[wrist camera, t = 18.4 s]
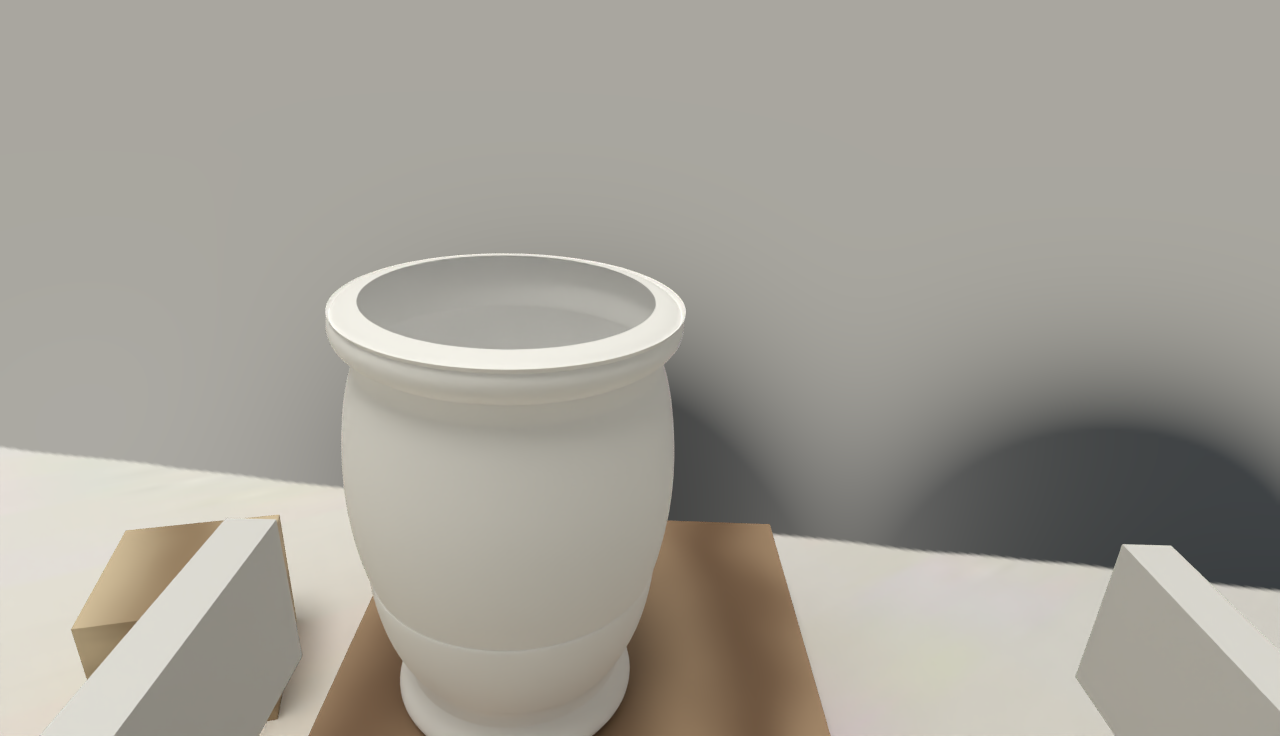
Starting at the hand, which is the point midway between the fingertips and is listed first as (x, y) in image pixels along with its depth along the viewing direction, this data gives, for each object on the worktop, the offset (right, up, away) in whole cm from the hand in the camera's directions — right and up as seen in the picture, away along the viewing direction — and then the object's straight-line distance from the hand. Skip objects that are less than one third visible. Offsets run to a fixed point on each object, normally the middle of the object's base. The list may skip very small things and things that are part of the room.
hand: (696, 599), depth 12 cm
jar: (-6, -8, +17) cm, 19 cm away
